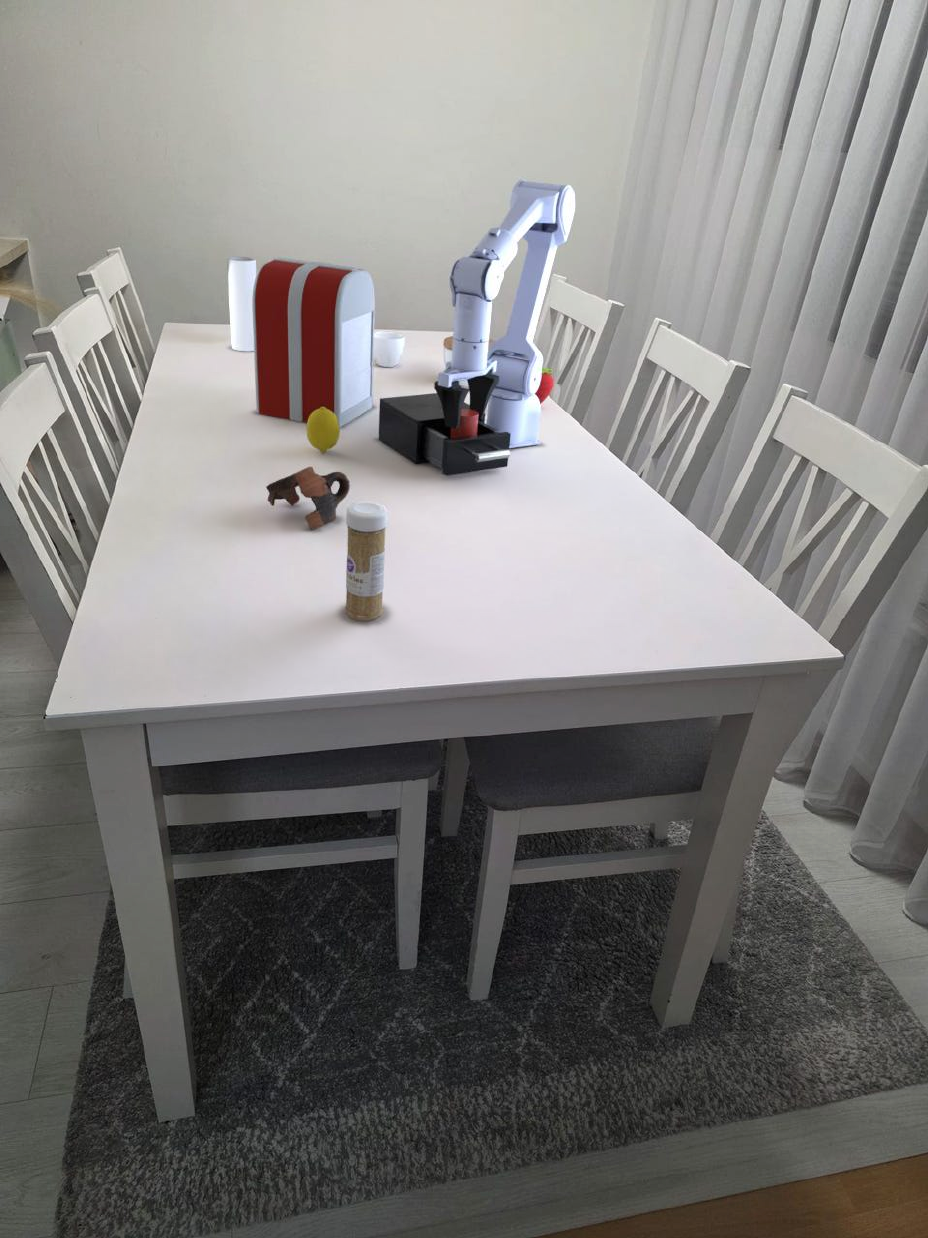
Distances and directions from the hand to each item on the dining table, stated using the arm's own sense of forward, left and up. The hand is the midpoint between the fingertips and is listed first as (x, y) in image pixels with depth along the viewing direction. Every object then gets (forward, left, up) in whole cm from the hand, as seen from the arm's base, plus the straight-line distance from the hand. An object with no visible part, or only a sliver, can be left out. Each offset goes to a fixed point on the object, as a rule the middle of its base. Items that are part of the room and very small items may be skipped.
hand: (464, 422), depth 147 cm
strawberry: (-35, -25, -8) cm, 43 cm away
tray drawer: (0, +1, -7) cm, 7 cm away
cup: (-20, -64, -4) cm, 68 cm away
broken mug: (+32, +9, -8) cm, 34 cm away
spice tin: (0, 0, -6) cm, 6 cm away
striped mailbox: (+10, -38, -8) cm, 40 cm away
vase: (+3, -88, -8) cm, 88 cm away
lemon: (+19, -15, -8) cm, 25 cm away
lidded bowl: (-31, -46, -8) cm, 56 cm away
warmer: (0, -11, -8) cm, 13 cm away
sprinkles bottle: (+38, +38, -8) cm, 55 cm away
